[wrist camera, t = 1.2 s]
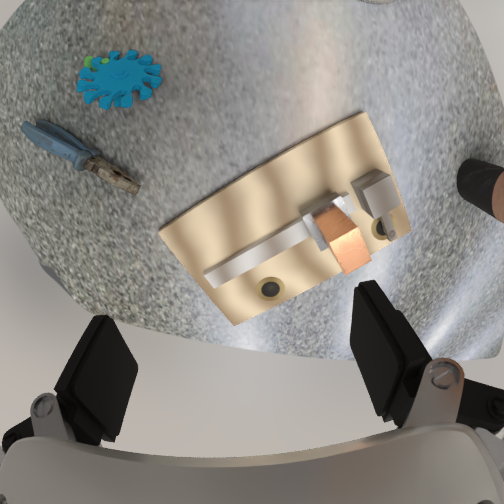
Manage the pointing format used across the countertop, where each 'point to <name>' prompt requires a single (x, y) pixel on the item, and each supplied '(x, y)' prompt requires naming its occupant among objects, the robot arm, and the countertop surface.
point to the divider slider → (336, 232)
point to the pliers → (77, 153)
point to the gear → (118, 78)
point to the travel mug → (483, 186)
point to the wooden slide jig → (287, 220)
